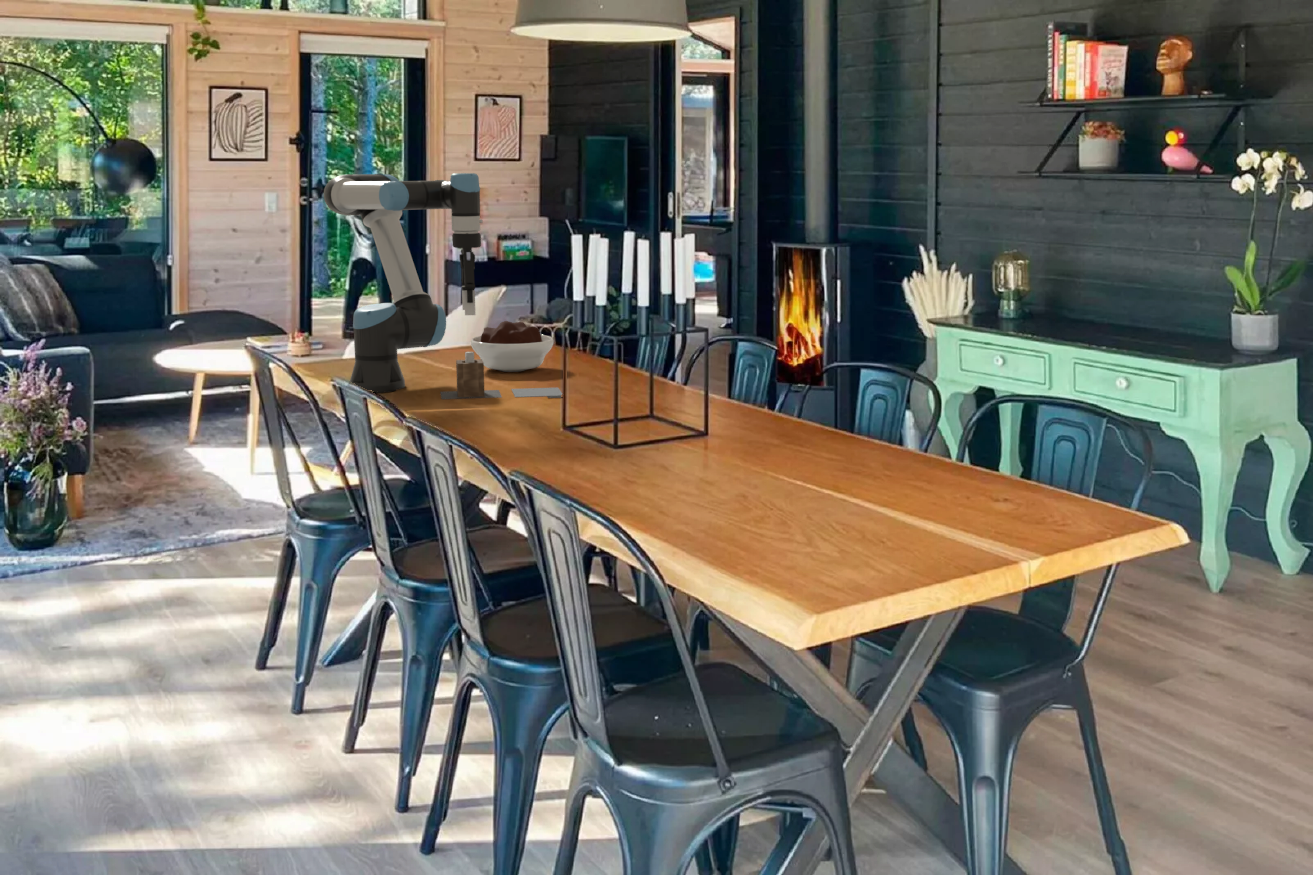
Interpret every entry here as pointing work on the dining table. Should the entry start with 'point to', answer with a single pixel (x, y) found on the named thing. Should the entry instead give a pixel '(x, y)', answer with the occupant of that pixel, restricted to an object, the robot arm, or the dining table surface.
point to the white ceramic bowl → (512, 347)
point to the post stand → (453, 395)
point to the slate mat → (537, 392)
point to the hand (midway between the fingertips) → (468, 312)
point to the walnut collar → (470, 378)
